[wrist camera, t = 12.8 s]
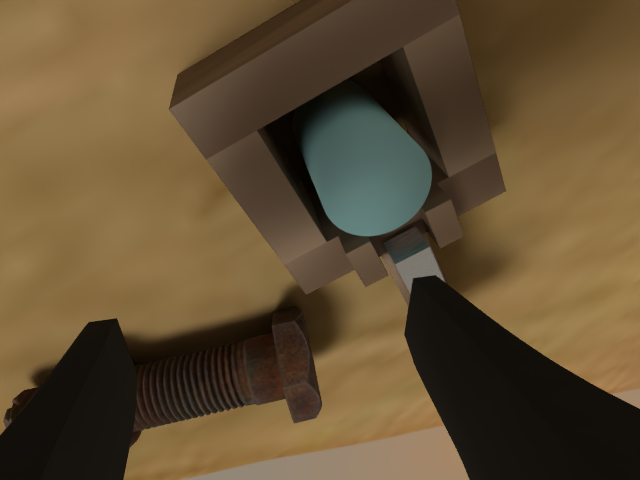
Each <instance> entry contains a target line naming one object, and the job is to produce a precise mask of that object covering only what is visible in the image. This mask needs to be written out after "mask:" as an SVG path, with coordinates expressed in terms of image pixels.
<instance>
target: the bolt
mask: <svg viewBox="0 0 640 480" xmlns="http://www.w3.org/2000/svg"><path fill="white" fill-rule="evenodd" d="M272 331H273V333H269V334H265V335H260V336H256V337H251V338H247V339H245V340H244V341H241V342H239V343H238V344H237V343H233V344H232V347H231V345H229V344H227V345H226V347H224V346H220V348H219V349H218V348H217V347H214V349H213V350H212V349H208V350H207V351H204V350H202V351H201V352H200V353H199V352H195V353H194V354H192V353H189V354H188V355H185V354H183V355H182V356H181V357H180V356H176V357H174V358H173V357H170V358H169V359H168V360H167V359H163V360H162V361H160V360H158V361H155V362H149V363H148V364H147V363H143V364H142V365H139V364H138V365H136V366H134V367H135V370H136V373H137V375H138V382H137V399H136V412H135V421H134V426H133V432H132V437H131V442H130V447H131V446H132V445H133V444H134V443H135V442H136V441H137V440H138V438H139V436H140V434H141V431H142V430H144V429H149V428H151V427H157V426H158V425H159V426H161V425H165V424H170V423H174V422H178V421H183V420H185V419H187V420H188V419H191V418H197V417H198V416H201V417H202V416H203V415H204V414H206V415H210V413H211V412H212V413H217V411H219V412H223V411H224V410H227V411H228V410H230V409H231V408H233V409H235V408H237V407H238V406H239V407H243V406H244V405H252V404H256V405H261V404H265V403H269V402H274V401H278V400H282V399H286V401H287V404H288V407H289V410H290V413H291V417H292V419H293V422H294V423H298V422H302V421H306V420H310V419H314V418H316V417H317V415H318V414H319V412H320V410H321V407H322V401H321V396H320V391H319V386H318V381H317V376H316V371H315V365H314V360H313V356H312V351H311V347H310V342H309V338H308V334H307V330H306V325H305V320H304V316H303V313H302V310H301V309H299V308H297V307H293V308H288V309H284V310H279V311H275V312H274V313H273V320H272ZM38 389H39V388H32V389H27V390H24V391H23V392H21V393H20V394H19V395H18V396H17V397H15V398H14V399H13V401H12V402H13V406H12V408H10V409H7V411H6V414H5V417H4V424H5V426H6V428H7V427H8V426H9V424H10V423H11V422H12V421H13V420H14V419H15V417H16V416H17V415H18V414H19V413H20V411H21V410H22V409H23V408H24V407H25V405H26V404H27V403H28V402H29V400H30V399H31V398H32V396H33V395H34V394H35V393H36V391H37V390H38ZM130 447H129V448H130Z"/></svg>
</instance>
